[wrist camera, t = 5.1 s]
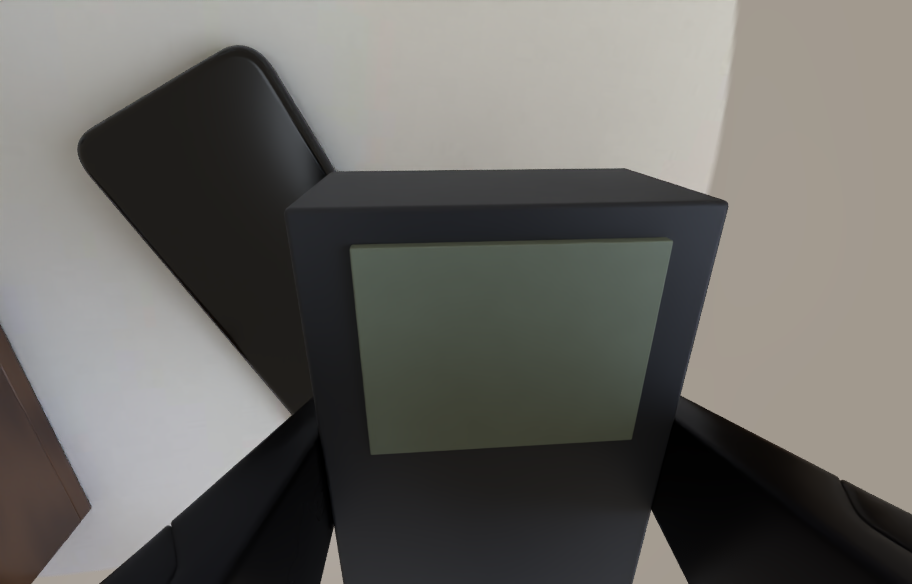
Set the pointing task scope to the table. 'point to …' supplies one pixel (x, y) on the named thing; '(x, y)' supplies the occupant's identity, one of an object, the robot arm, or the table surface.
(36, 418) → the case
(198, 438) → the table surface
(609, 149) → the table surface
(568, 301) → the black lcd device
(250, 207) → the smartphone
